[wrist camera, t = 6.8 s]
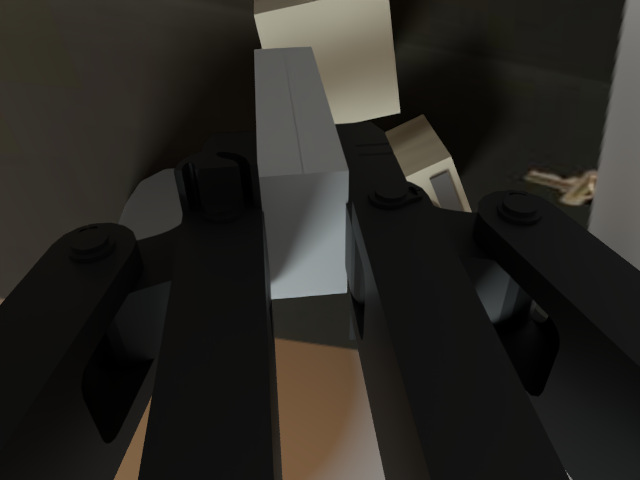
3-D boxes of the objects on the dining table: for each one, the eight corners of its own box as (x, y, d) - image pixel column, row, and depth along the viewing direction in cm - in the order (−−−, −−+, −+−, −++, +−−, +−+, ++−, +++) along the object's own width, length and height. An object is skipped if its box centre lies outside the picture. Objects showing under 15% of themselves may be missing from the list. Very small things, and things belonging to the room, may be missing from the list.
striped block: (336, 154, 35) (349, 204, 30) (422, 113, 33) (452, 158, 28) (371, 222, 38) (388, 278, 33) (450, 187, 37) (481, 238, 32)
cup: (247, 165, 34) (244, 259, 26) (256, 266, 39) (255, 372, 31) (112, 171, 34) (65, 269, 25) (137, 273, 38) (106, 384, 30)
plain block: (254, -12, 28) (253, 14, 24) (364, -36, 28) (387, -15, 23) (279, 95, 32) (283, 137, 27) (378, 74, 32) (400, 112, 27)
